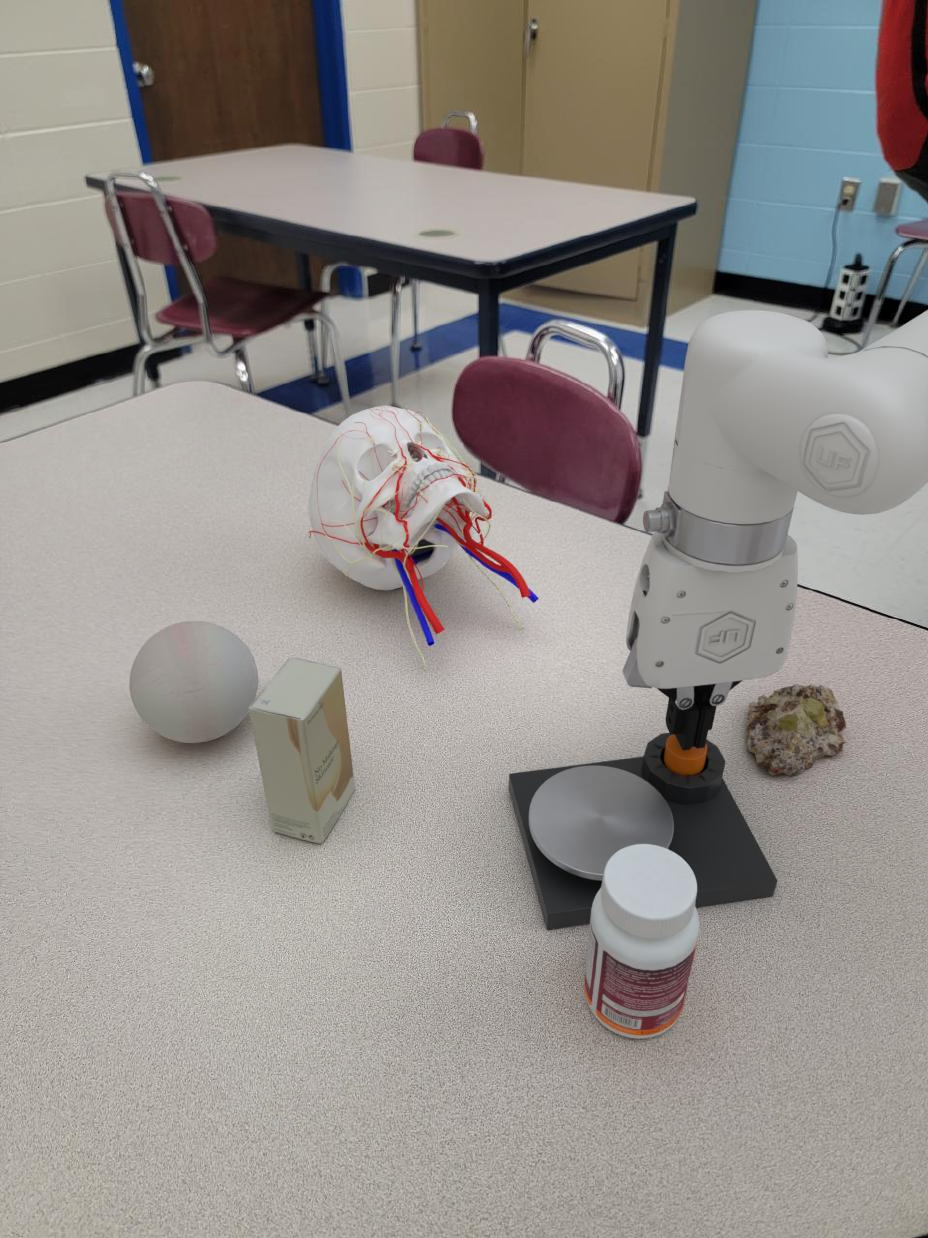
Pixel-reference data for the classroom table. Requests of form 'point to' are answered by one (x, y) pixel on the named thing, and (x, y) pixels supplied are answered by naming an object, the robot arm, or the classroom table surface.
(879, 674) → the classroom table surface
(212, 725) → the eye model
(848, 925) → the classroom table surface
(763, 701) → the mineral rock
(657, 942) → the pill bottle
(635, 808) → the weighing pan
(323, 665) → the cosmetic box
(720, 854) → the scale
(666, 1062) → the classroom table surface
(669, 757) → the tare button
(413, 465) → the anatomical skull model
